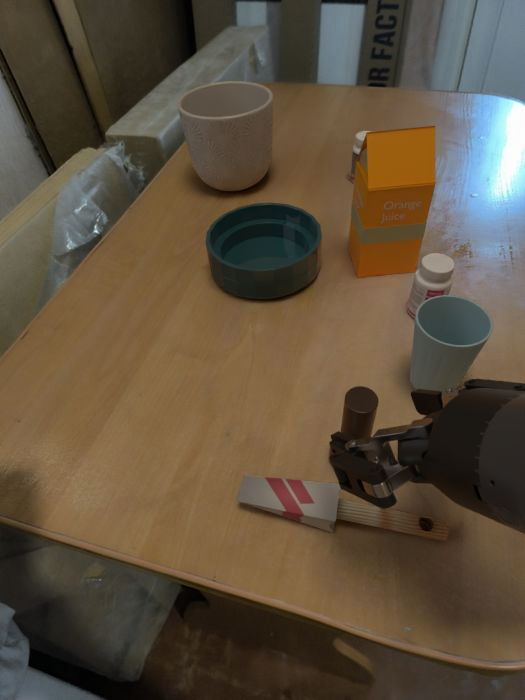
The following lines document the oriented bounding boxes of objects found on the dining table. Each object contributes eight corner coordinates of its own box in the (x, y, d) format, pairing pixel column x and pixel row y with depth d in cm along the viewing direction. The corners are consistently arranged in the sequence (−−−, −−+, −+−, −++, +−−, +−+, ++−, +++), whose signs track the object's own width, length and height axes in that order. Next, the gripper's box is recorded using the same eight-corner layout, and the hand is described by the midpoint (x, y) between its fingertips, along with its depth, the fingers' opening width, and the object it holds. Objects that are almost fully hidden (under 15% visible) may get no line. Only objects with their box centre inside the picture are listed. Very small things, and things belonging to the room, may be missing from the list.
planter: (266, 154, 97) (261, 75, 86) (285, 193, 86) (283, 108, 75) (188, 167, 96) (172, 88, 84) (197, 209, 84) (181, 124, 73)
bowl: (315, 231, 77) (316, 199, 73) (325, 299, 66) (326, 266, 61) (215, 237, 78) (210, 206, 74) (207, 305, 67) (201, 273, 62)
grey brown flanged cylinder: (370, 437, 51) (383, 376, 42) (377, 478, 47) (393, 420, 39) (327, 439, 51) (332, 379, 43) (331, 479, 48) (337, 423, 39)
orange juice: (415, 272, 69) (447, 139, 54) (357, 278, 69) (372, 146, 54) (401, 242, 74) (426, 112, 59) (347, 247, 74) (358, 119, 59)
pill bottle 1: (376, 185, 86) (382, 140, 80) (351, 186, 86) (355, 142, 80) (373, 172, 89) (378, 129, 83) (348, 174, 89) (352, 130, 83)
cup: (390, 361, 58) (405, 300, 50) (448, 351, 58) (471, 289, 50) (413, 410, 53) (433, 351, 45) (476, 399, 53) (507, 339, 45)
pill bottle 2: (420, 327, 61) (434, 279, 55) (399, 306, 64) (410, 257, 58) (449, 316, 62) (466, 267, 56) (427, 295, 65) (441, 246, 59)
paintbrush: (244, 463, 46) (449, 506, 43) (245, 475, 48) (441, 517, 45) (233, 499, 44) (450, 548, 40) (235, 510, 46) (442, 557, 42)
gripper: (608, 346, 26) (426, 350, 41) (410, 461, 22) (291, 418, 37) (647, 464, 26) (454, 425, 42) (462, 596, 23) (325, 499, 38)
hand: (377, 422), depth 40 cm, fingers open, 8 cm apart
